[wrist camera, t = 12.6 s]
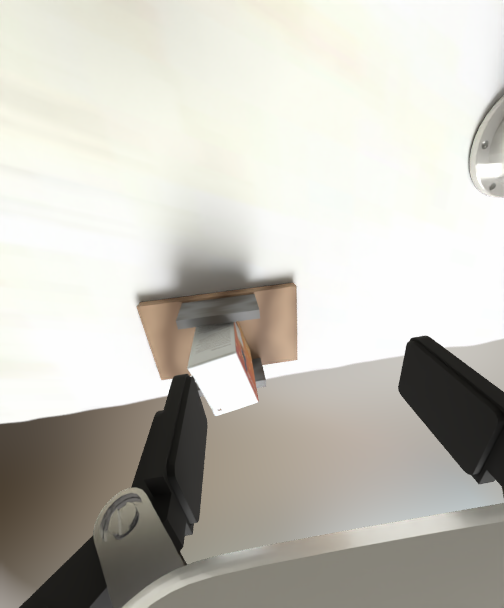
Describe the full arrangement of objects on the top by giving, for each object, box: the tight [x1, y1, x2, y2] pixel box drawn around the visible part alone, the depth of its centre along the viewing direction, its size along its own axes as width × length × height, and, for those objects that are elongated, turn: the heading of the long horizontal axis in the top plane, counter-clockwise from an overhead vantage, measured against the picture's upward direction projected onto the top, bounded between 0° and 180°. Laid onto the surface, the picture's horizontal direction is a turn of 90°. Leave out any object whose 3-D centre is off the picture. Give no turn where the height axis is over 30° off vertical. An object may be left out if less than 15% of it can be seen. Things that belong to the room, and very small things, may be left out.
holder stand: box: [137, 283, 297, 397], centre depth 34 cm, size 22×13×6 cm, turn 95°
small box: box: [187, 321, 259, 416], centre depth 31 cm, size 8×6×10 cm
